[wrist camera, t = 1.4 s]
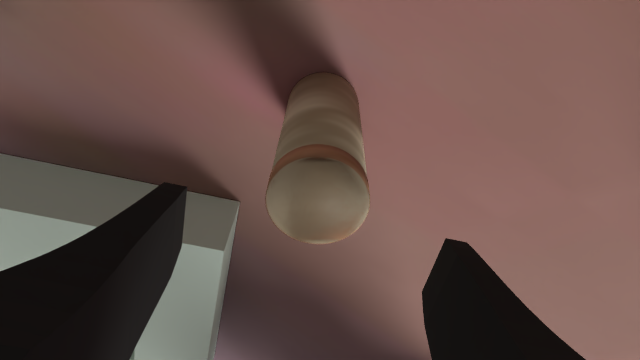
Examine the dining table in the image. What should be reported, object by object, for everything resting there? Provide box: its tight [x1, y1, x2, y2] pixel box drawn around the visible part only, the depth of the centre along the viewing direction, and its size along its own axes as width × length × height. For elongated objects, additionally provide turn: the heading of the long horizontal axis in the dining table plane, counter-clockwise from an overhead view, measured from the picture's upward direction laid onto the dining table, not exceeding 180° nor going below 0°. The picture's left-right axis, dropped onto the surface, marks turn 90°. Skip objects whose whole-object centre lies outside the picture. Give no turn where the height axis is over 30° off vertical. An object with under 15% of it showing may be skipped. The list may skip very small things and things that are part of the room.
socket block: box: [0, 153, 240, 360], centre depth 25 cm, size 12×12×4 cm
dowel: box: [265, 72, 370, 244], centre depth 18 cm, size 3×3×8 cm
